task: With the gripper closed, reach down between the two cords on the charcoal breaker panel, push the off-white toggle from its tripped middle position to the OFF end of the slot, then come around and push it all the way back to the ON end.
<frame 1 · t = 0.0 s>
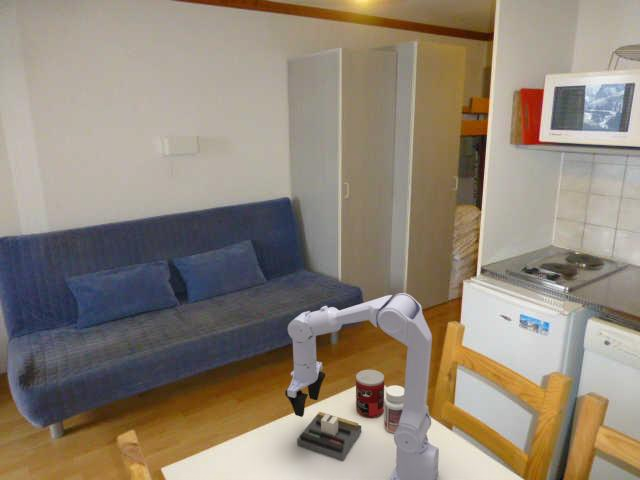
hand: (306, 406, 121), 10 cm above the table, tool pointing down, fingers open, 7 cm apart
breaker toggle: (329, 425, 123), point 4 cm above the table, slide at 0.0 cm
canned food: (369, 410, 136), on the table
pill bottle: (395, 427, 128), on the table
breaker panel: (329, 438, 124), on the table
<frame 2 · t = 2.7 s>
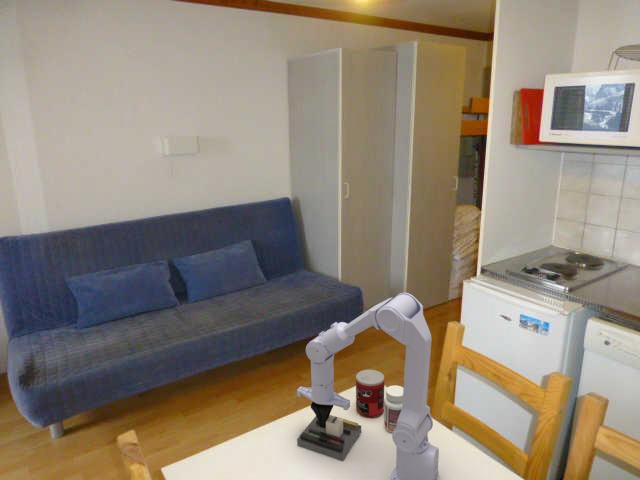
hand: (323, 425, 124), 4 cm above the table, tool pointing down, fingers closed
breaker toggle: (334, 426, 122), point 4 cm above the table, slide at -1.4 cm, touching gripper
everything else where it was.
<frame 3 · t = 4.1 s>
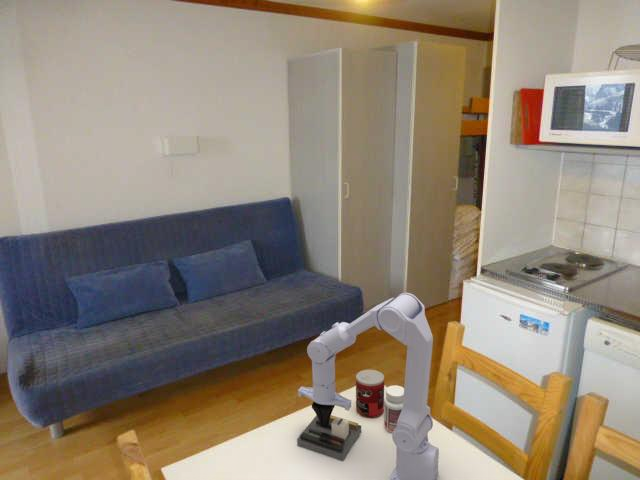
hand: (324, 425, 124), 4 cm above the table, tool pointing down, fingers closed
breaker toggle: (340, 428, 122), point 4 cm above the table, slide at -3.0 cm
everything else where it was.
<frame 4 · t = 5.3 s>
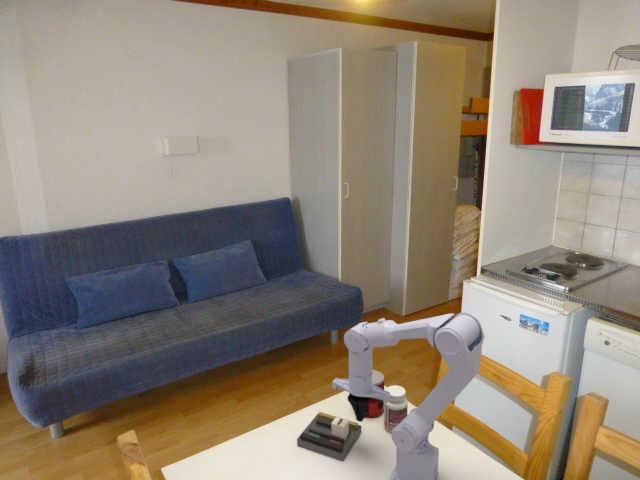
hand: (360, 419, 118), 9 cm above the table, tool pointing down, fingers closed
nothing on the table moved.
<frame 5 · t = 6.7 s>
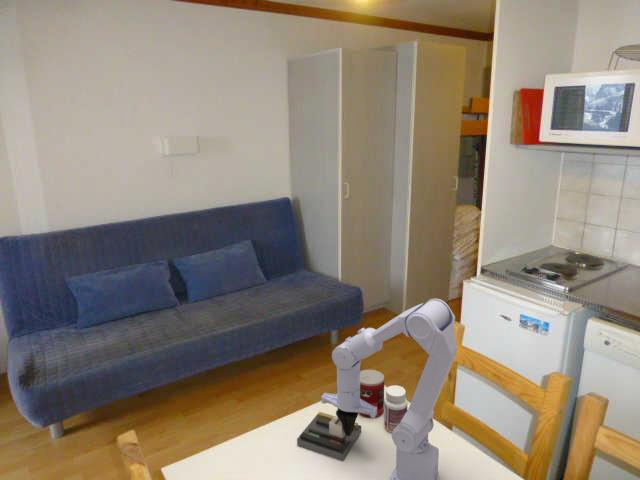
hand: (348, 432, 121), 4 cm above the table, tool pointing down, fingers closed
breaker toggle: (337, 427, 122), point 4 cm above the table, slide at -2.4 cm, touching gripper
everything else where it was.
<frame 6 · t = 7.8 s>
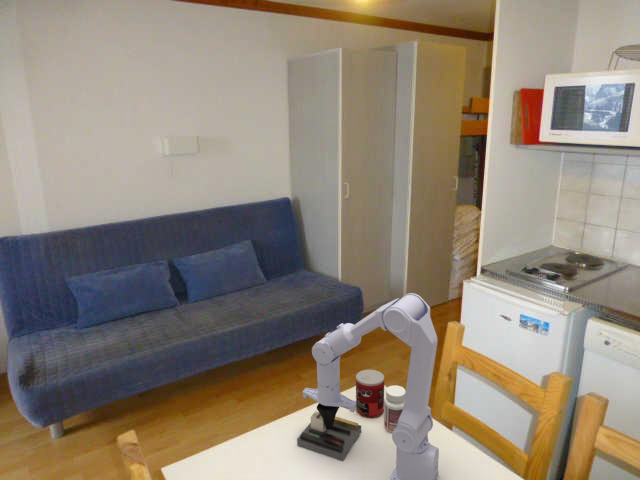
hand: (329, 427, 123), 4 cm above the table, tool pointing down, fingers closed
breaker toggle: (319, 421, 124), point 4 cm above the table, slide at 3.1 cm, touching gripper
everything else where it was.
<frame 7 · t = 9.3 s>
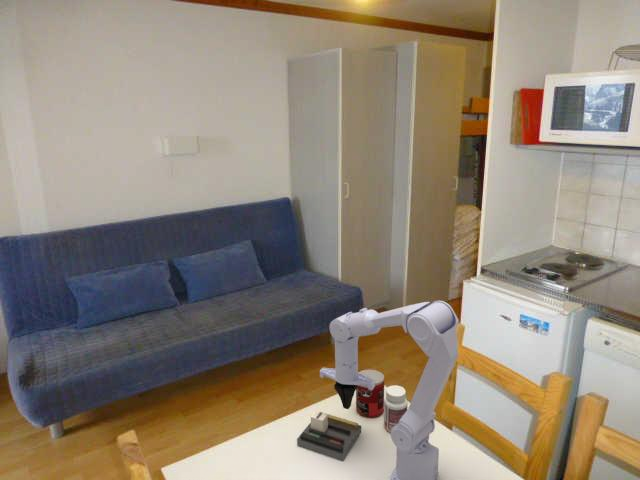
hand: (347, 406, 122), 9 cm above the table, tool pointing down, fingers closed
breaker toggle: (319, 421, 124), point 4 cm above the table, slide at 3.0 cm
everything else where it was.
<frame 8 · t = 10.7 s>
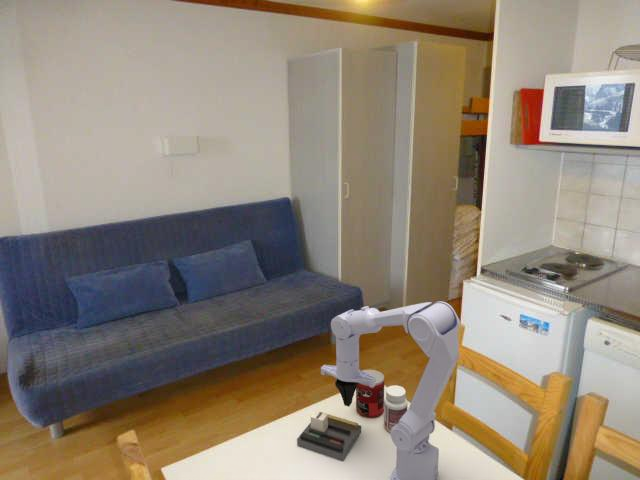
hand: (348, 403, 122), 10 cm above the table, tool pointing down, fingers closed
nothing on the table moved.
at the end: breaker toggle slide at 3.0 cm; pill bottle moved 0.2 cm from its start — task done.
